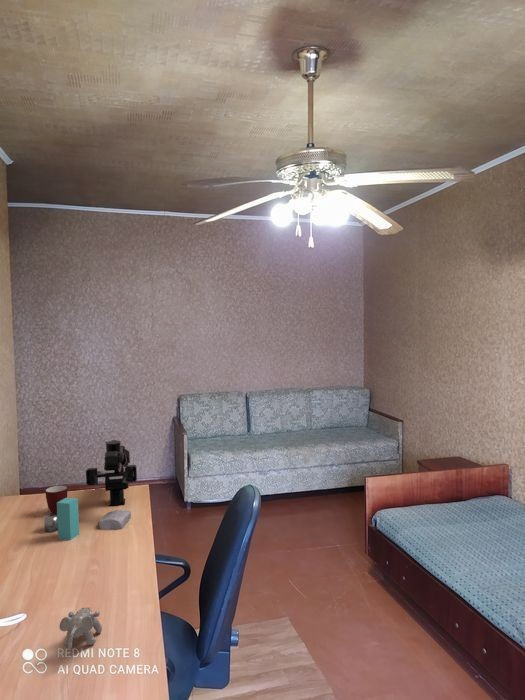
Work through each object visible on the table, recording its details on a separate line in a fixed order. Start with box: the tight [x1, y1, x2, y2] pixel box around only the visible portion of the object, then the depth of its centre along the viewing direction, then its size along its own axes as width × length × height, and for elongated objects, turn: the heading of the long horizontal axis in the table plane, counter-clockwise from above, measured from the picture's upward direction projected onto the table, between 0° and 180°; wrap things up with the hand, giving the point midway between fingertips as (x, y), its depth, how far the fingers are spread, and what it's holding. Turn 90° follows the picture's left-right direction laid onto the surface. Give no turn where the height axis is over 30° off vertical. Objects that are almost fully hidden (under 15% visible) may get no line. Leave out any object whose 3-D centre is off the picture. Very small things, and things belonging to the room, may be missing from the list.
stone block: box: [98, 509, 132, 531], centre depth 188 cm, size 12×5×10 cm
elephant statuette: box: [58, 607, 103, 650], centre depth 116 cm, size 9×12×8 cm
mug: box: [45, 485, 68, 514], centre depth 199 cm, size 10×8×10 cm
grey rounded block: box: [43, 513, 58, 534], centre depth 182 cm, size 5×5×5 cm
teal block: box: [57, 497, 80, 541], centre depth 176 cm, size 5×5×13 cm
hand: (109, 482), depth 183 cm, fingers open, 9 cm apart
